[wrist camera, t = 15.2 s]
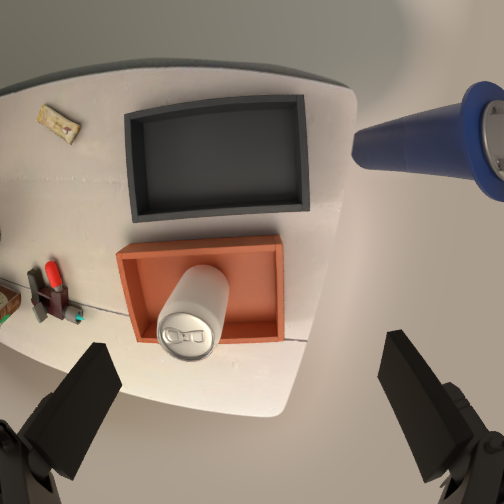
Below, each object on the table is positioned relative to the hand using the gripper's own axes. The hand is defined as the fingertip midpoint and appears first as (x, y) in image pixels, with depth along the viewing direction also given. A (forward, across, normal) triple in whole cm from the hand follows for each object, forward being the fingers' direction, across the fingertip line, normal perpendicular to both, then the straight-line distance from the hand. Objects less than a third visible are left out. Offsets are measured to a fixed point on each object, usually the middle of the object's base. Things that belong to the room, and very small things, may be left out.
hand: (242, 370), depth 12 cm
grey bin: (+24, -3, +10) cm, 26 cm away
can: (+24, -7, -6) cm, 25 cm away
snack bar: (+23, -26, +19) cm, 40 cm away
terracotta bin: (+24, -7, -6) cm, 25 cm away
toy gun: (+24, -32, -6) cm, 40 cm away
